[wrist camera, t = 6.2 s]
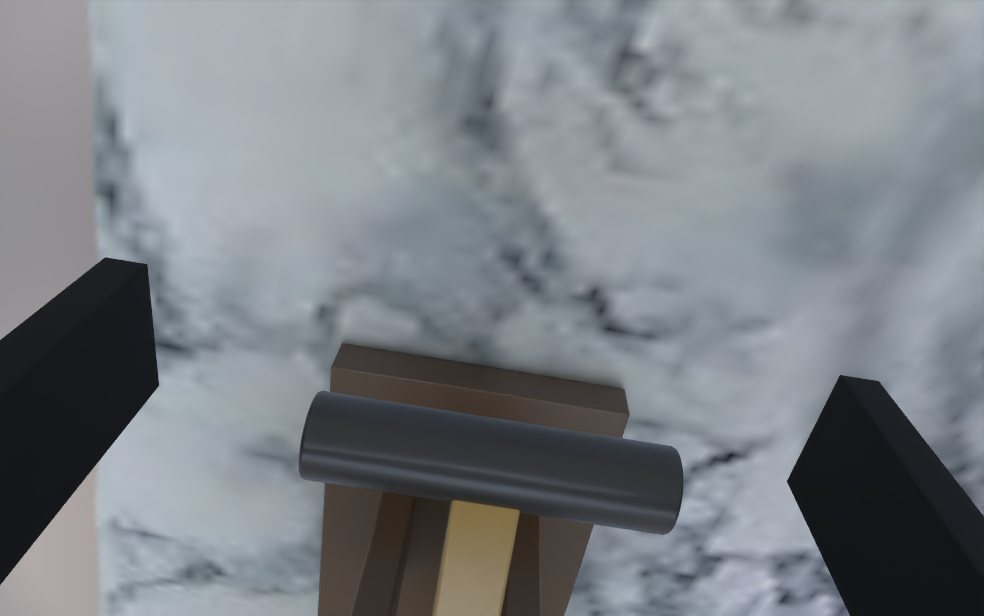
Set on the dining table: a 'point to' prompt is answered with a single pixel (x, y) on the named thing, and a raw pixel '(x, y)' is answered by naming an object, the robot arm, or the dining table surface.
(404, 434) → the switch lever
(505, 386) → the switch bracket
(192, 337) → the dining table surface
